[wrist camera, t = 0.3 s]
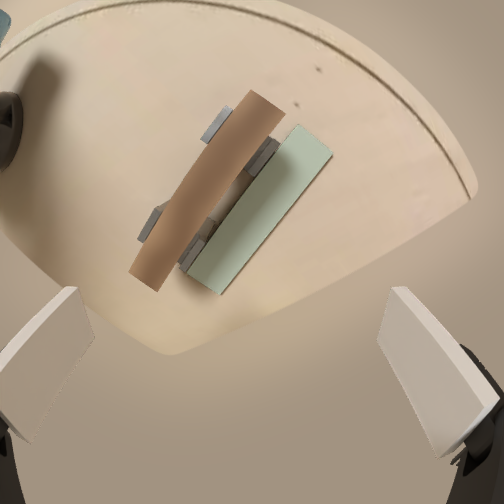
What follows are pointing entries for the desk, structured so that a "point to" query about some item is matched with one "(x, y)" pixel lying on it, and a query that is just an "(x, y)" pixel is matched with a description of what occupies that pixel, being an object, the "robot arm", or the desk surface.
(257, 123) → the rail
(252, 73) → the desk surface
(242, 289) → the desk surface
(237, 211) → the mat
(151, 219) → the cradle posts
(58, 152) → the desk surface
